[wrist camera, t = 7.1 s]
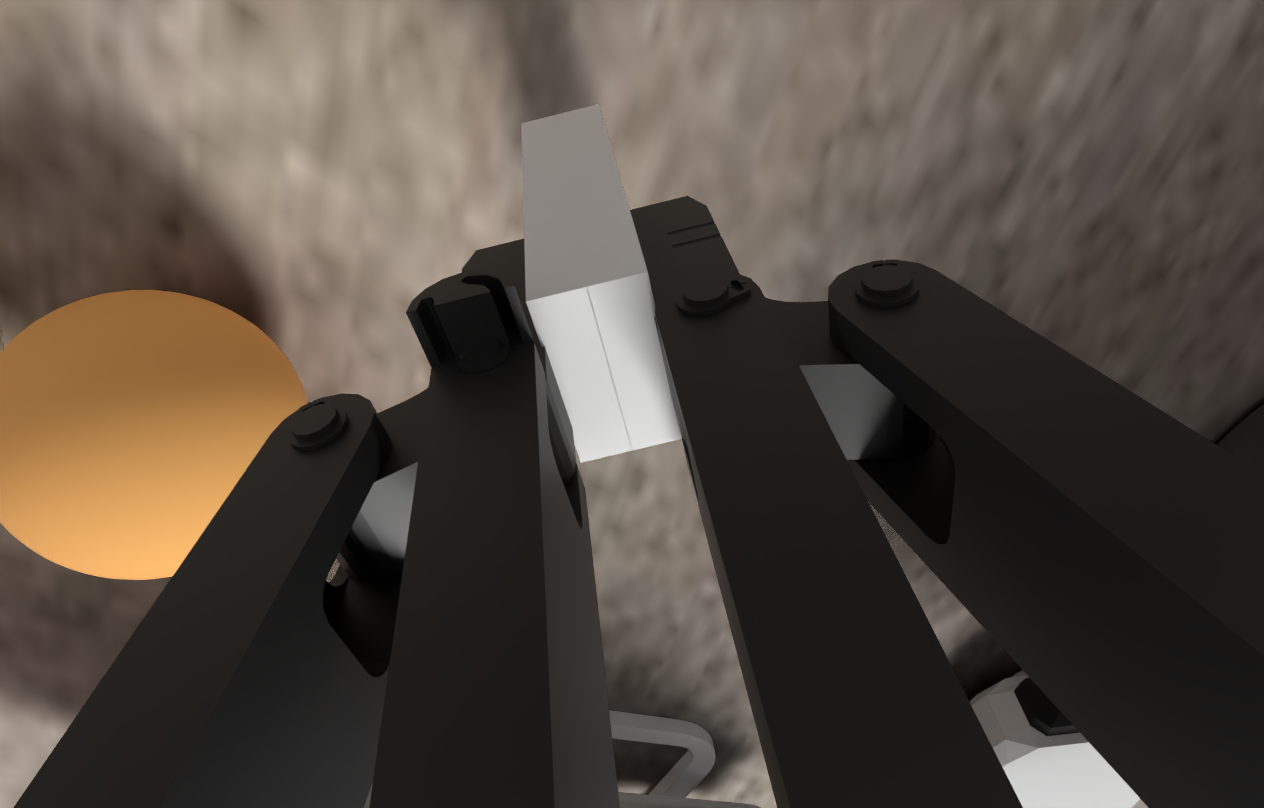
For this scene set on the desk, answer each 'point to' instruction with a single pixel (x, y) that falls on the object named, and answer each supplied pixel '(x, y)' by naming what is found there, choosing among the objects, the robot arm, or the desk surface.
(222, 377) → the ball
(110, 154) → the desk surface
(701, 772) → the network device
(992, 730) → the robot toy
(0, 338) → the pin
